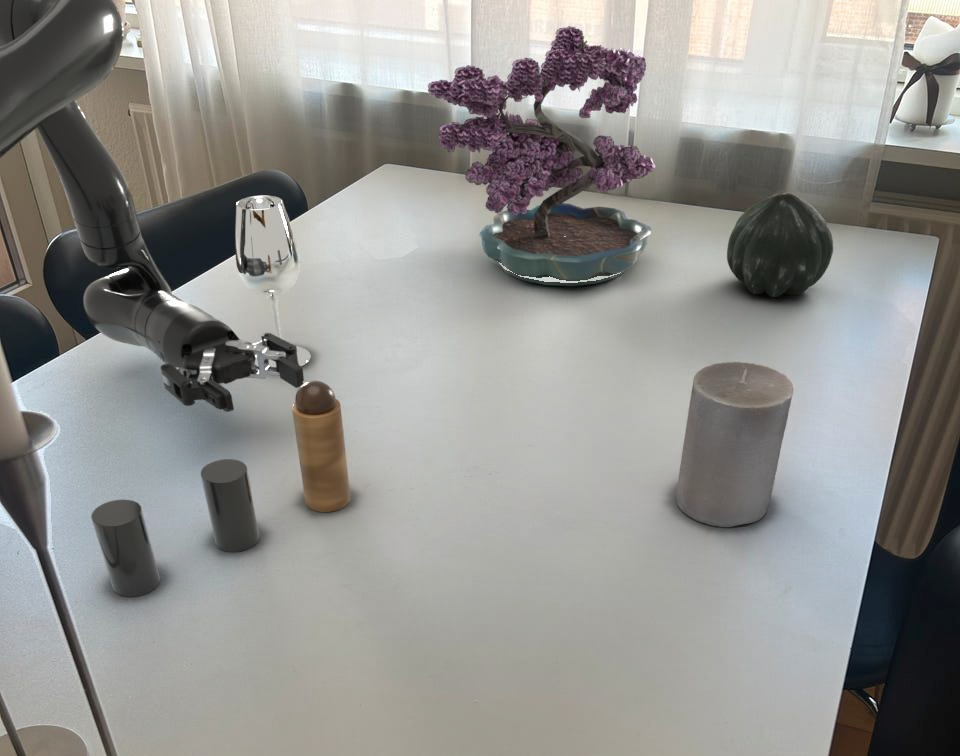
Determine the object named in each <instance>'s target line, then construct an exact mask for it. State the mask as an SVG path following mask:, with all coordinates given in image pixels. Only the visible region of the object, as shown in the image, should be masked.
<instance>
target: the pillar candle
mask: <svg viewBox="0 0 960 756" xmlns="http://www.w3.org/2000/svg"><path fill="white" fill-rule="evenodd" d="M691 386H692V387H691V393H690V398H689V405H688V412H687V418H686V426H685V431H684V438H683V445H682V452H681V459H680V464H679V465H680V466H679V472H678V478H677V480H678V481H677V485H676V492H675V502H676V506H678V509H680V511H682V513H683V514H685V515H686V516H688V517H690V518H691V519H692V520H694V521H697V522H699V523H702V524H705V525H708V526H713V527H714V526H715V527H719V528H731V527H736V526H742V525H747V524H752V523H756V522H758V521H760V520H761V519H762V518H764V516H765V515H766V514H767V513H768V510H769V506H770V502H771V498H772V493H773V489H774V485H775V480H776V474H777V471H778V466H779V465H778V464H779V460H780V455H781V449H782V445H783V440H784V436H785V432H786V429H787V428H786V427H787V424H788V418H789V412H790V408H791V403H792V398H793V395H794V386H793V382H792V381H791V380H790V378H789V377H787V375H785V374H784V373H782V372H780V371H778V370H776V369H773V368H771V367H768V366H765V365H761V364H756V363H753V362H751V363H750V362H741V361H726V362H720V363H713V364H710V365H706V366H704V367H702V368H701V369H699V370H698V371H697V372H696V373H695V374H694V375H693V379H692V385H691Z"/></svg>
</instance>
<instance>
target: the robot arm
mask: <svg viewBox="0 0 960 756" xmlns="http://www.w3.org/2000/svg"><path fill="white" fill-rule="evenodd" d="M123 42H124V23H123V19H122V16H121V14H120V11H119V9H118V6H117V5H116V3H115V2H114V0H0V159H1V158H2V157H4V156H5V155H6V154H7V153H9V152H10V151H11V150H12V149H13V148H15V146H17V145H18V144H19V143H21V142H22V141H23V140H24V139H26V138H27V136H29V135H30V134H31V133H32V132H34V131H35V130H37V132H38V134H39V136H40V138H41V140H42V142H43V145H44V146H45V149H46V151H47V153H48V155H49V157H50V160H51V161H52V163H53V166H54V168H55V170H56V172H57V175H58V178H59V180H60V183H61V185H62V188H63V191H64V193H65V197H66V200H67V203H68V206H69V209H70V213H71V216H72V219H73V222H74V225H75V229H76V233H77V236H78V238H79V242H80V245H81V248H82V252H84V255H85V257H86V258H87V260H88V261H89V262H90V263H92V264H93V265H95V266H97V267H100V268H105V269H106V268H107V269H118V268H123V269H121V270H119V271H116V272H114V273H111V274H109V275H106V276H103V277H101V278H99V279H96V280H94V281H93V282H91V283H90V284H89V285H88V286H87V287H86V289H85V290H84V293H83V298H82V299H83V300H82V302H83V303H82V304H83V310H84V312H85V314H86V317H87V319H88V320H89V322H90V323H91V325H92V326H93V327H94V328H95V329H96V330H97V331H98V332H100V333H101V334H102V335H103V336H105V337H107V339H110V340H113V341H115V342H119V343H122V344H127V345H132V346H136V347H142V348H143V347H144V348H146V349H148V350H149V351H150V352H152V353H154V354H155V355H156V356H157V357H158V358H159V360H160V361H162V362H163V363H164V364H162V365H160V372H161V376H162V380H163V385H164V388H165V390H167V391H168V393H170V394H171V395H172V396H173V397H174V398H176V399H177V400H178V401H179V402H180V403H181V404H183V406H186V407H190V406H193V405H195V404H196V401H199V400H201V402H202V403H205V404H210V405H211V406H212V407H214V408H215V409H216V410H222V411H224V412H226V413H230V412H232V411H234V410H235V409H234V402H233V397H232V394H231V392H230V391H229V389H227V388H226V387H224V386H223V385H222V384H224V385H227V384H231V383H233V382H234V381H236V380H242V379H245V378H249V379H257V380H258V379H259V380H264V379H266V378H267V377H268V376H271V377H279V378H280V379H281V380H283V381H284V382H286V383H288V384H289V385H291V386H292V387H294V388H296V389H299V388H300V387H301V386H302V385H303V384H304V381H305V377H304V370H303V366H300V365H299V363H298V357H297V347H296V346H297V345H295V344H294V343H292V342H291V343H290V342H289V341H287V340H285V339H283V338H282V339H281V338H279V337H277V336H276V334H273V333H271V332H264V333H262V334H261V335H260V336H261V340H260V341H258V342H255V343H252V342H250V341H244V340H241V339H240V338H239V337H238V335H237V334H236V332H235V331H234V330H233V329H232V328H231V327H230V326H229V325H228V324H226V323H224V322H223V321H221V320H219V319H217V318H216V317H215V316H213V315H211V314H209V313H208V312H206V311H204V310H203V309H201V308H199V307H198V306H196V305H193V304H190V303H188V302H186V301H184V300H182V299H181V298H179V297H177V296H176V295H174V294H173V292H172V289H171V287H170V285H169V283H168V282H167V279H166V278H165V277H164V275H163V273H162V272H161V270H160V268H159V267H158V266H157V264H156V262H155V260H154V259H153V256H152V254H151V253H150V250H149V248H148V246H147V243H146V241H145V239H144V237H143V234H142V230H141V226H140V223H139V218H138V215H137V210H136V206H135V202H134V198H133V195H132V192H131V189H130V186H129V185H128V182H127V180H126V178H125V176H124V174H123V172H122V170H121V169H120V167H119V166H118V164H117V162H116V161H115V159H114V158H113V156H112V154H110V152H109V151H108V149H107V148H106V146H105V145H104V144H103V142H102V141H101V140H100V138H99V136H98V135H97V134H96V132H95V131H94V129H93V128H92V126H91V125H90V123H89V122H88V120H87V118H86V116H85V115H84V113H83V111H82V109H81V108H80V105H79V104H78V101H77V100H79V99H80V98H81V97H83V96H85V95H86V94H88V93H89V92H91V91H92V90H94V89H95V88H97V87H98V86H99V85H100V84H101V83H103V82H104V81H105V80H106V79H107V77H109V75H110V74H111V72H112V71H113V69H114V68H115V66H116V65H117V62H118V60H119V58H120V55H121V52H122V48H123ZM256 356H257V360H258V366H259V367H258V368H255V360H256ZM270 359H271V360H273V361H275V362H276V367H271V366H270V365H269V361H268V360H270Z"/></svg>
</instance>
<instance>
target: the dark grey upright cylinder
mask: <svg viewBox="0 0 960 756" xmlns="http://www.w3.org/2000/svg"><path fill="white" fill-rule="evenodd" d="M90 519H91V522H92V525H93V528H94V532H95V534H96V538H97V541H98V544H99V547H100V551H101V554H102V558H103V561H104V564H105V567H106V570H107V573H108V577H109V580H110V584H111V587H112V590H113V591H114V592H115V593H116V594H118V595H119V596H122V597H127V598H134V597H139V596H140V597H141V596H144V595H146V594H149V593H150V592H152V591H154V590H155V589H156V588H157V587H159V585H160V582H161V576H160V572H159V568H158V565H157V562H156V557H155V553H154V550H153V546H152V543H151V539H150V535H149V531H148V527H147V524H146V519H145V517H144V513H143V509H142V506H141V505H140V503H138V501H134V500H133V499H132V500H131V499H114V500H110V501H107V502H104V503H102V504H100V505H98V506H97V507H96V508H95V509H94V510H93V511H92V512H91V516H90Z"/></svg>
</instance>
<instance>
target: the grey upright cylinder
mask: <svg viewBox="0 0 960 756" xmlns="http://www.w3.org/2000/svg"><path fill="white" fill-rule="evenodd" d="M200 479H201V484H202V487H203V492H204V498H205V502H206V506H207V511H208V515H209V520H210V524H211V531H212V533H213V538H214V543H215V545H216V547H217V548H218V549H220V550H222V551H224V552H227V553H237V552H238V553H239V552H243V551H248V550H249V549H251V548H253V547H255V546H256V545H257V544H258V542H259V540H260V532H259V525H258V520H257V515H256V510H255V509H256V508H255V504H254V499H253V494H252V489H251V488H252V487H251V481H250V476H249V471H248V467H247V464H245V463H244V462H243V461H241V460H238V459H233V458H232V459H231V458H226V459H225V458H224V459H218V460H214V461H212V462H210V463H207V464H205V465H204V466H203V467H202V468H201V471H200Z"/></svg>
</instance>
